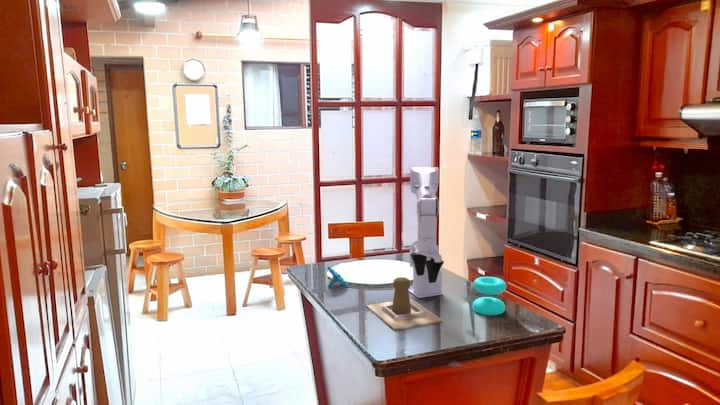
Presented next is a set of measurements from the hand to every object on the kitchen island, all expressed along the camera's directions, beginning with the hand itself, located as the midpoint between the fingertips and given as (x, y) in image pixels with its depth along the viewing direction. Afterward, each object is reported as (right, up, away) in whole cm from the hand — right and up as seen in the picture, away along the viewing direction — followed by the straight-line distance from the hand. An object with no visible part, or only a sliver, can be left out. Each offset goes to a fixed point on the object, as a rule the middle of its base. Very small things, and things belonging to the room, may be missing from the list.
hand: (426, 278), depth 162 cm
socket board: (-7, -11, -1) cm, 13 cm away
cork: (-8, -10, -1) cm, 13 cm away
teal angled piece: (-29, -7, +25) cm, 38 cm away
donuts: (+20, -11, +1) cm, 22 cm away
